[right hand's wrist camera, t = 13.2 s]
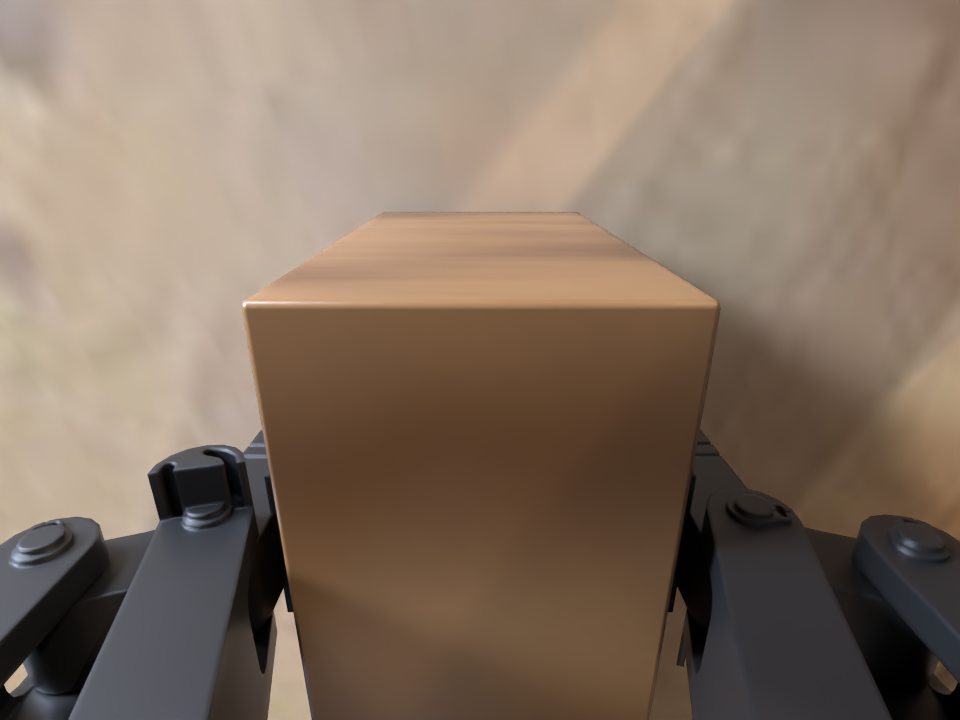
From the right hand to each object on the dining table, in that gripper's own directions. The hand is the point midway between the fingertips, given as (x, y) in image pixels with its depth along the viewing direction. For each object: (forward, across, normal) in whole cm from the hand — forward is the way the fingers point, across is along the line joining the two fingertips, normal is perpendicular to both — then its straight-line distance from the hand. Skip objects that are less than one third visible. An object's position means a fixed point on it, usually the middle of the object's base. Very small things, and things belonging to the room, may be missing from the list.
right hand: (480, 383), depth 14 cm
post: (+1, 0, -32) cm, 32 cm away
